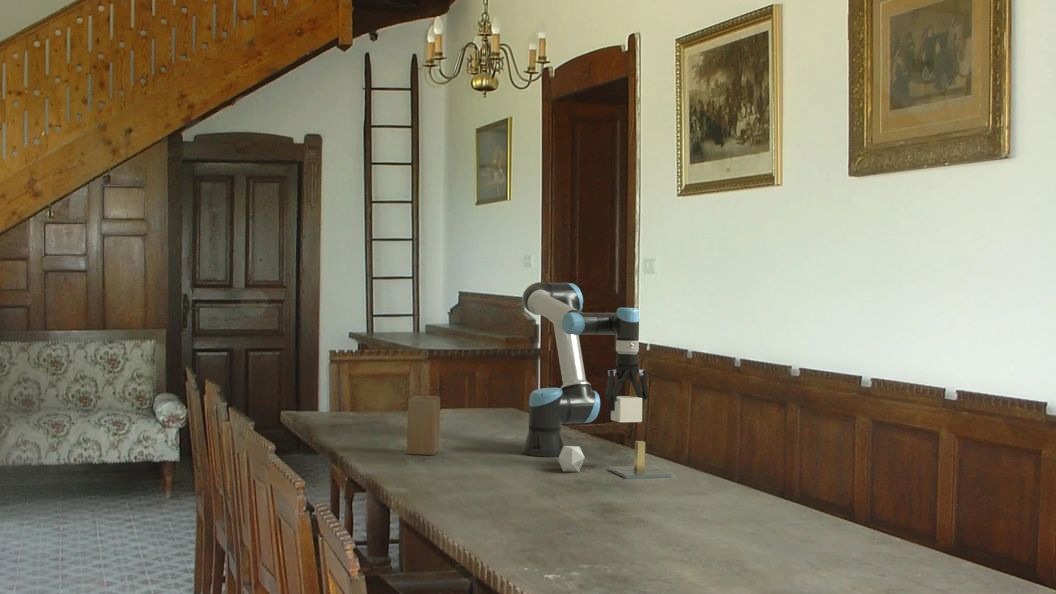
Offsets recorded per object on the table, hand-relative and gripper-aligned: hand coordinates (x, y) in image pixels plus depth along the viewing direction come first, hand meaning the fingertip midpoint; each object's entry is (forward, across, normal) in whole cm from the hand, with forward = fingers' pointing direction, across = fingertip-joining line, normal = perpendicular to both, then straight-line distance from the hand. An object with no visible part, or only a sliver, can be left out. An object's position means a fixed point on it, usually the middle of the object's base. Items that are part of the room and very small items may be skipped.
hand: (626, 420), depth 373 cm
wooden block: (+15, -61, +39) cm, 74 cm away
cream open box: (0, 0, 0) cm, 0 cm away
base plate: (+16, 0, -11) cm, 20 cm away
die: (+16, -21, -2) cm, 26 cm away
